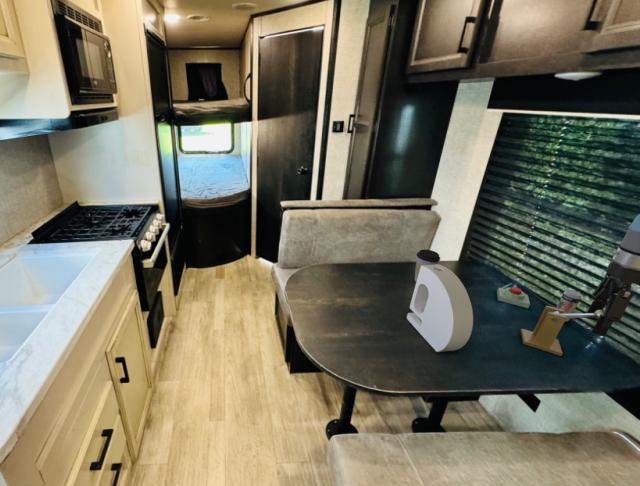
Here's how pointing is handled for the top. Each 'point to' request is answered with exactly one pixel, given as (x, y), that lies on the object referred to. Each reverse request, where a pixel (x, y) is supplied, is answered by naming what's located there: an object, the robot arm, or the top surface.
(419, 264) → the coffee cup
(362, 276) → the top surface
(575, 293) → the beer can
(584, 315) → the tap lever
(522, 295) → the button block
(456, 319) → the white curved block
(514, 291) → the button
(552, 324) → the bracket
